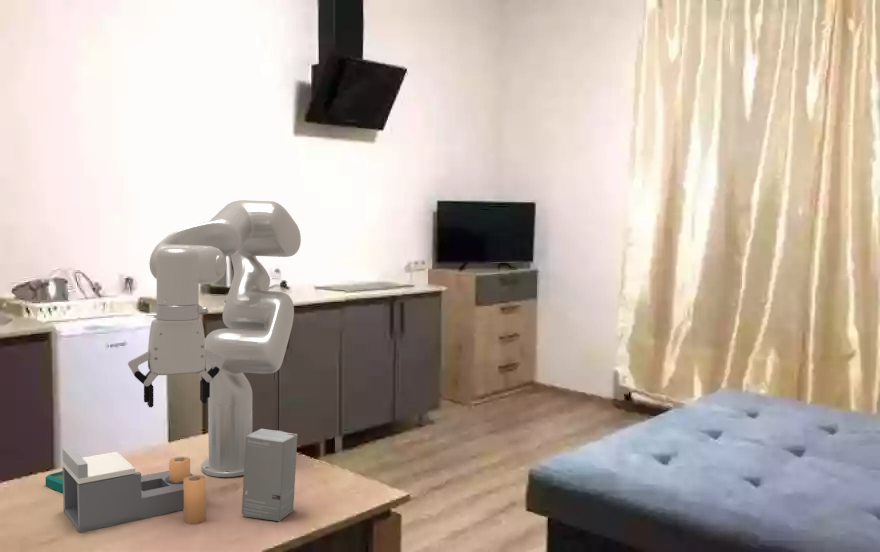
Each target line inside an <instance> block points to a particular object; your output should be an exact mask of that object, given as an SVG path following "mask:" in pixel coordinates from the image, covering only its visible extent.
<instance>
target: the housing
mask: <svg viewBox="0 0 880 552" xmlns="http://www.w3.org/2000/svg"><path fill="white" fill-rule="evenodd" d="M168 466H169V467H168V470H165V471H160V472H156V473H150V474H145V475H142V473H141V472H140V471H135V474H130V475H124V476H119V477H114V478H108V479H103V480H98V481H93V482H87V483H82V484H78V483H77V482H76V481H75V480H74V478H73V477H72V476H71V475H70V474H69V473H68V471H67V470H66V469H65V468H64V467H63V466H62V471H63V493H62V495H63V497H62V499H63V500H62V501H63V513H64V514H65V515H66V517H68V519H69V520H70V522H71V523H72V524H73V526H74V527H75V528H76V529H77V531H78V532H79V533H85V532H89V531H94V530H98V529H103V528H107V527H111V526H116V525H120V524H124V523H125V524H126V523H129V522H133V521H139V520H143V519H147V518H151V517H156V516H159V515H161V516H162V515H164V514H169V513H174V512H178V511H184V484H183V480H184V478H186V477H188V476H193V475H194V474H192V473H191V458H190V457H188V456H175V457H171V458H170V459H169V460H168Z"/></svg>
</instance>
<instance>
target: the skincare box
mask: <svg viewBox="0 0 880 552" xmlns="http://www.w3.org/2000/svg"><path fill="white" fill-rule="evenodd" d="M297 448H298V433H291V432H286V431H283V430H273V429H266V428H259V429H258V430H255V431H252V433H251V434H249V435H247V436H246V446H245V463H244V475H243V484H242V499H241V500H242V502H241V515H242V517H245V518H253V519H260V520H268V521H275V522H281V521H282V520H283V519H284V518H286V517H287V516H288V515H290V514H291V513H293V511H294V503H295V488H296V487H295V486H296V485H295V484H296V467H297V452H298V451H297V450H298V449H297Z"/></svg>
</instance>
